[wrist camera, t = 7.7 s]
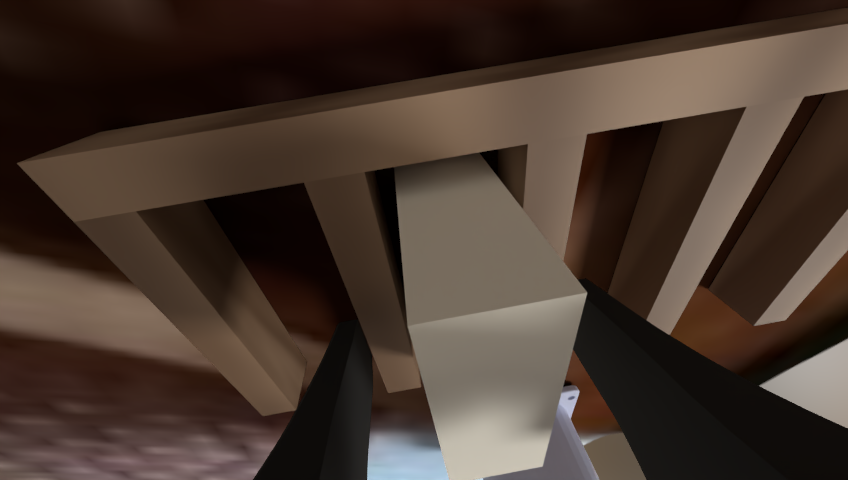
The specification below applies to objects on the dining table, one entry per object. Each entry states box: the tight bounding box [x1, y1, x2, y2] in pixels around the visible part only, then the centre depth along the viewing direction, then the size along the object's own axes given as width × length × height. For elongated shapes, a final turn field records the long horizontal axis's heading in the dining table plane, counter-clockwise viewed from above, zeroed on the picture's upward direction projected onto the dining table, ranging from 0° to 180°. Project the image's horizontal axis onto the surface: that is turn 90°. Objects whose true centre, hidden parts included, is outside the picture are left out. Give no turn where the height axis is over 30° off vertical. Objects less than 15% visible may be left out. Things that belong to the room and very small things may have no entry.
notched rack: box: [17, 7, 848, 416], centre depth 12 cm, size 26×13×2 cm, turn 98°
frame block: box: [394, 153, 587, 480], centre depth 10 cm, size 8×3×7 cm, turn 8°
